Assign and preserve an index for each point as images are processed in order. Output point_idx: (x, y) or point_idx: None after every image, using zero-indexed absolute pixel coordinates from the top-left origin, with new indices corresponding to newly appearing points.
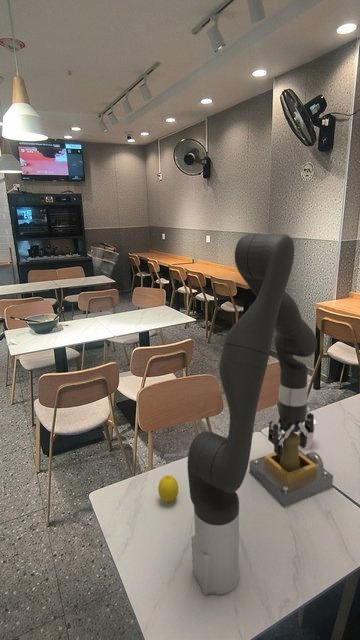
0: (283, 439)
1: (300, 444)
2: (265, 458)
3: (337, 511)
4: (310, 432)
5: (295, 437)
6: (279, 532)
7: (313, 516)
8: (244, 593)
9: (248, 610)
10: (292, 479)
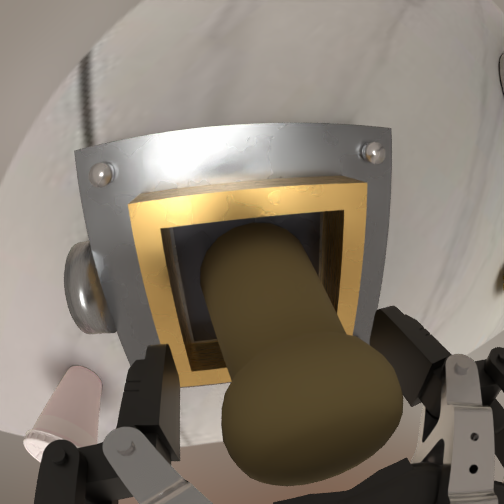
0: (458, 396)
1: (175, 376)
2: None
3: (180, 30)
4: (56, 415)
5: (330, 435)
6: (416, 67)
7: (286, 46)
8: (496, 37)
9: (495, 19)
10: (322, 179)
